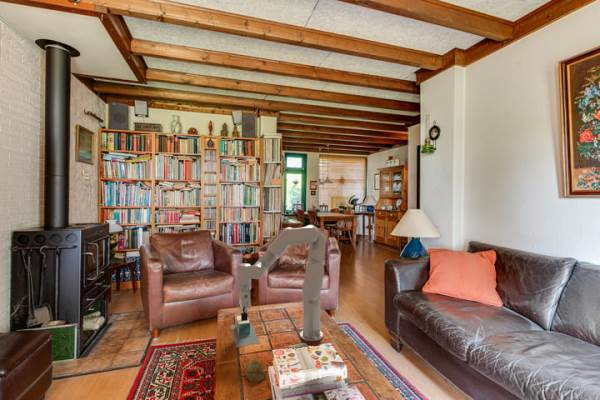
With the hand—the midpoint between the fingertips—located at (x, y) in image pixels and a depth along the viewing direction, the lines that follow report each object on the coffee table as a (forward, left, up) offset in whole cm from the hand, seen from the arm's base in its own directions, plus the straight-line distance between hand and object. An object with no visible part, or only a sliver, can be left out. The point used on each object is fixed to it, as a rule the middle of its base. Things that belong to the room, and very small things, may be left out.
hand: (244, 320), depth 158 cm
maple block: (-1, 0, -5) cm, 5 cm away
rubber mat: (0, 0, -8) cm, 8 cm away
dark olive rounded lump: (-38, +1, -8) cm, 39 cm away
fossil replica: (-34, -18, -8) cm, 39 cm away
